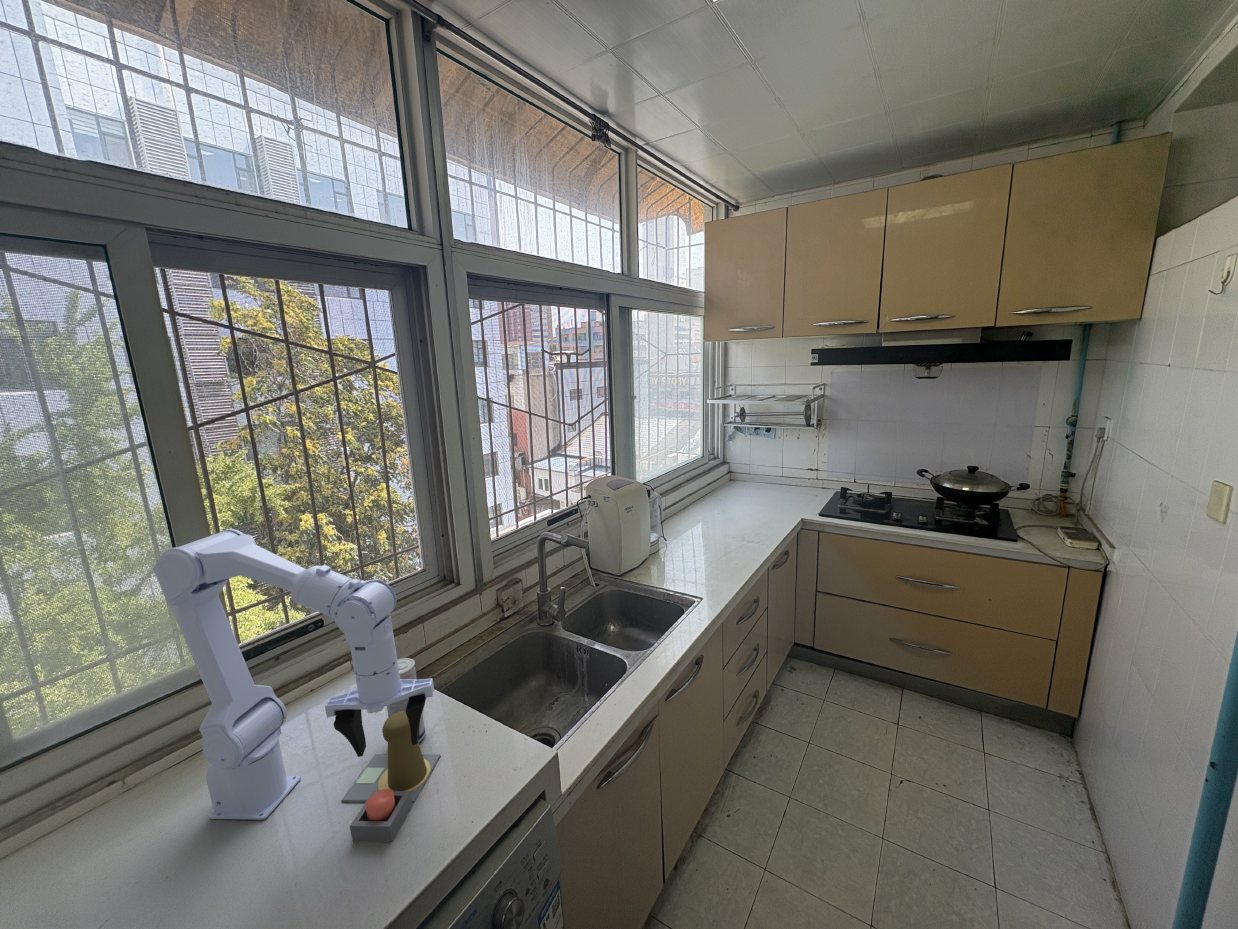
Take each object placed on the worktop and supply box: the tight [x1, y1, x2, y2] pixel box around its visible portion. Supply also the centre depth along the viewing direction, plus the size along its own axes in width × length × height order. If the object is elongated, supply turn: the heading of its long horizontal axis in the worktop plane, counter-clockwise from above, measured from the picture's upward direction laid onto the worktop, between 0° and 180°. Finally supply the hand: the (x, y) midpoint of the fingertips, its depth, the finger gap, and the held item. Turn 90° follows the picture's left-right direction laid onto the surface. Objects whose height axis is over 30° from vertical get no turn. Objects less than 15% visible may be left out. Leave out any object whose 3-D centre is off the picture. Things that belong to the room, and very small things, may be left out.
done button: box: [365, 789, 396, 821], centre depth 72 cm, size 4×4×2 cm
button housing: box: [349, 791, 413, 843], centre depth 73 cm, size 6×6×3 cm
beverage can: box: [386, 657, 426, 744], centre depth 89 cm, size 6×6×15 cm
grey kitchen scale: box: [340, 753, 441, 804], centre depth 81 cm, size 12×10×1 cm
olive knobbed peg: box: [381, 711, 427, 791], centre depth 80 cm, size 6×6×11 cm
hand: (389, 746), depth 74 cm, fingers open, 7 cm apart
